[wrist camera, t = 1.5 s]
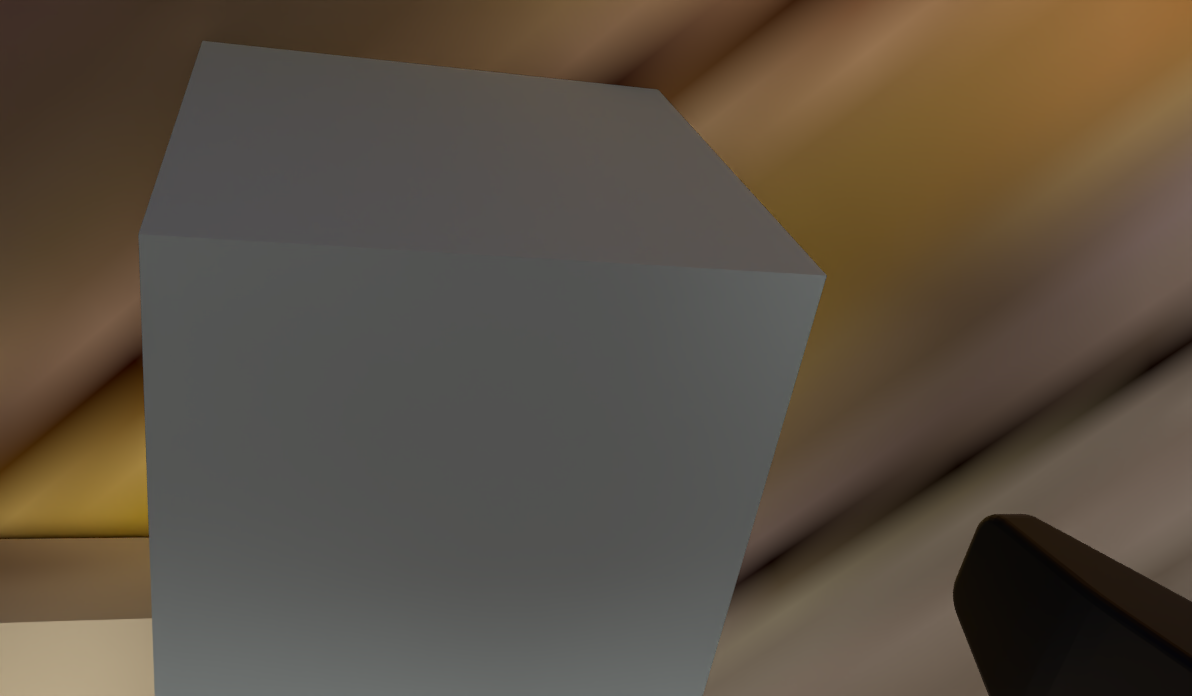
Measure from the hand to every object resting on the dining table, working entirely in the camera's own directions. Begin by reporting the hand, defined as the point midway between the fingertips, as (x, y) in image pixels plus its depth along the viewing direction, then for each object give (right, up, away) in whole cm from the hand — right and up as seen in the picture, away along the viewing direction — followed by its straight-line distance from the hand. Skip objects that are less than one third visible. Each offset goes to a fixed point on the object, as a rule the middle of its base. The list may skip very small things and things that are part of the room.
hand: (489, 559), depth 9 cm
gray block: (-1, +3, +4) cm, 5 cm away
